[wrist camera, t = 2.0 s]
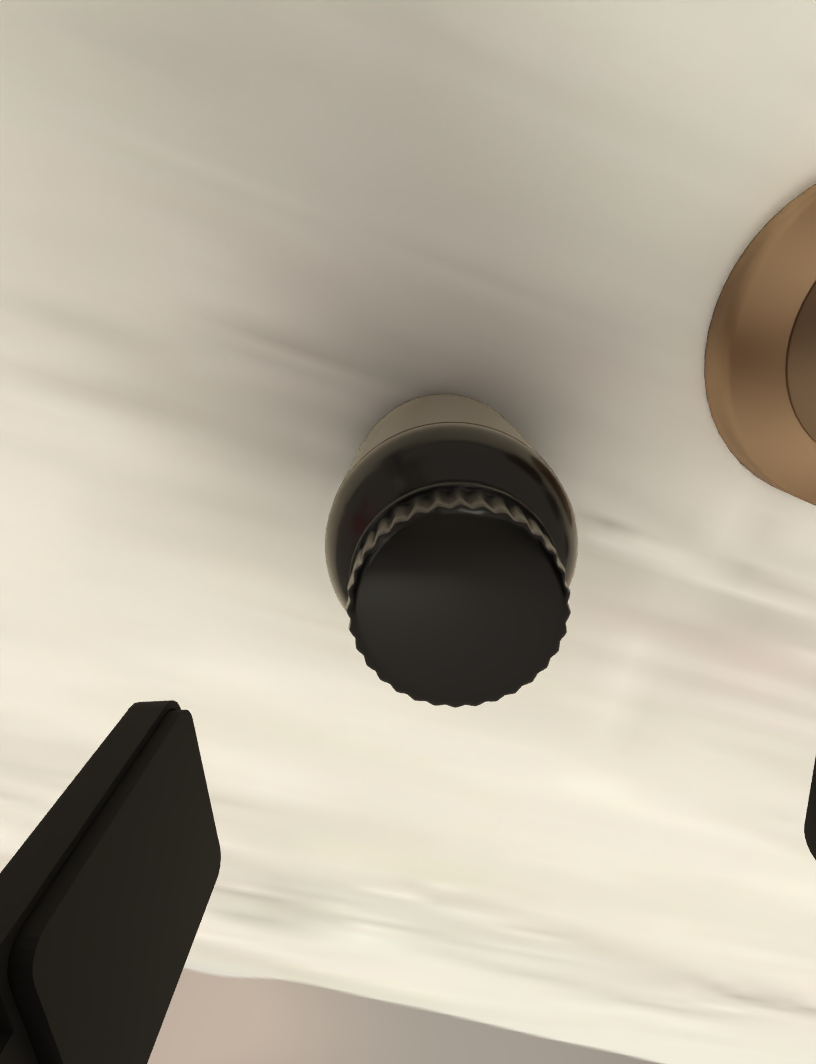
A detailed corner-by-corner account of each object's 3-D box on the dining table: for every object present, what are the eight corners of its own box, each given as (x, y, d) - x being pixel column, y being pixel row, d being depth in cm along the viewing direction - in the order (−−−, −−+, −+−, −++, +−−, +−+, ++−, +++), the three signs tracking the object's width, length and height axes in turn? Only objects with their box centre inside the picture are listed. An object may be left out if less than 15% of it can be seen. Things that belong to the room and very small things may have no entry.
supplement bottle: (550, 414, 23) (679, 504, 12) (498, 574, 25) (565, 778, 14) (375, 369, 23) (335, 418, 11) (337, 536, 25) (272, 716, 14)
